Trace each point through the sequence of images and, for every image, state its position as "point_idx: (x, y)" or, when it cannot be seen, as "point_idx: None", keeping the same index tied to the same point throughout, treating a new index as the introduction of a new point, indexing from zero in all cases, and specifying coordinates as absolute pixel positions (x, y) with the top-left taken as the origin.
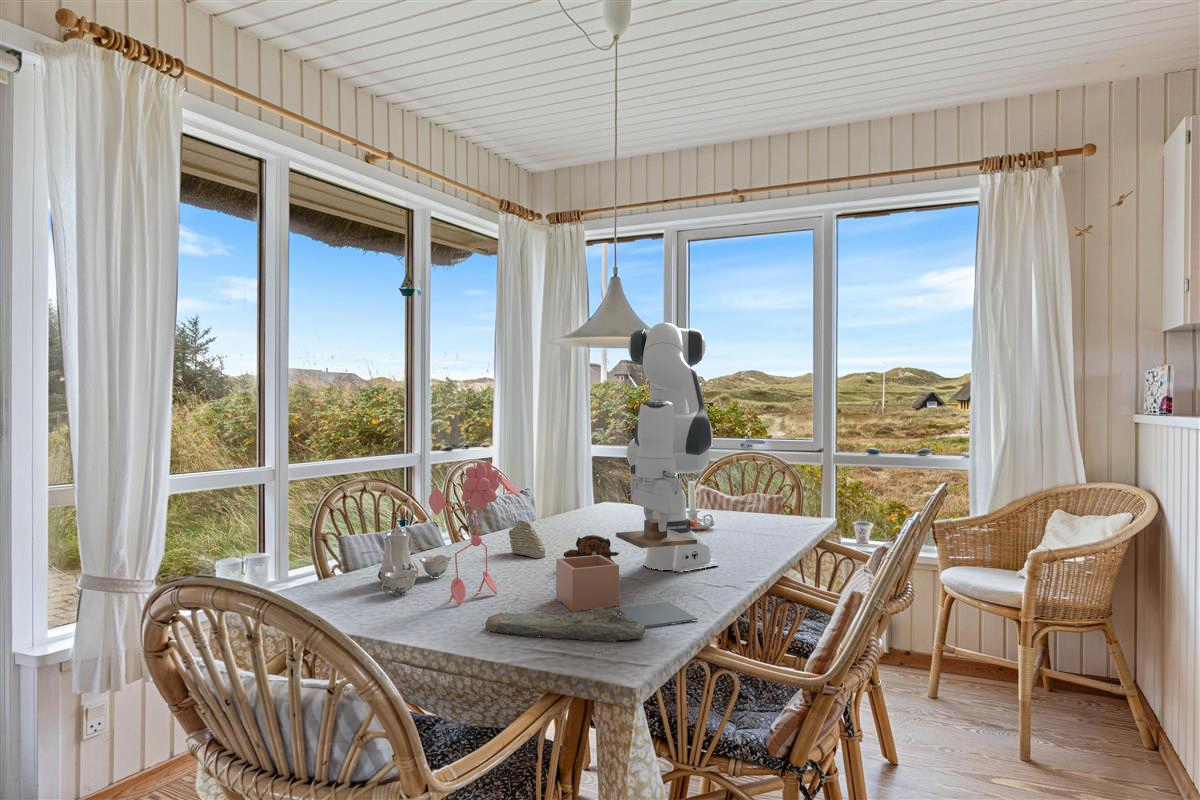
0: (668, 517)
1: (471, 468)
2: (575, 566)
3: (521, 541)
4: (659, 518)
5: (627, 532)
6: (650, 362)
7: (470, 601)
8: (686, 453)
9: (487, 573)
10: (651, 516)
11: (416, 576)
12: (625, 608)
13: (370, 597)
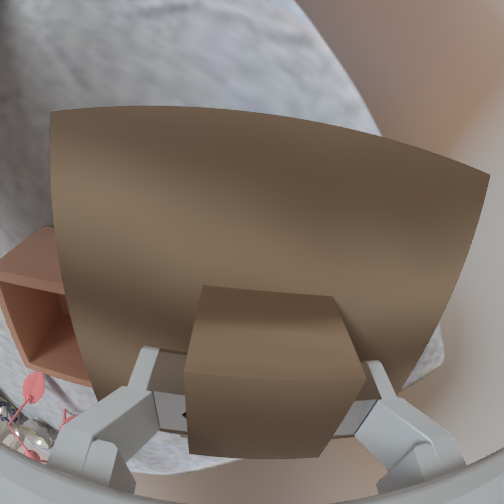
0: (444, 432)
1: None
2: (27, 322)
3: None
4: (391, 466)
5: (107, 391)
6: None
7: (68, 399)
8: None
9: (27, 397)
10: (133, 419)
11: (36, 432)
12: None
13: (54, 438)
